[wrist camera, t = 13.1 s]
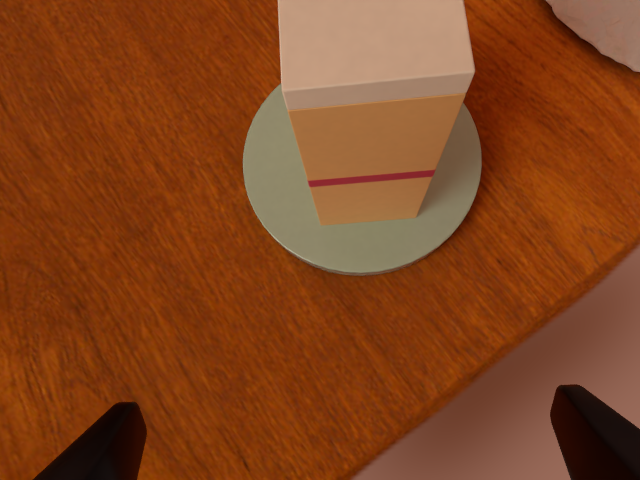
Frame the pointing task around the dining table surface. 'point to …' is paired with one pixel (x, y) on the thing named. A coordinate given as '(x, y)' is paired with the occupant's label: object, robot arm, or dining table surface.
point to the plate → (365, 237)
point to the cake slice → (372, 99)
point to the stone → (605, 26)
